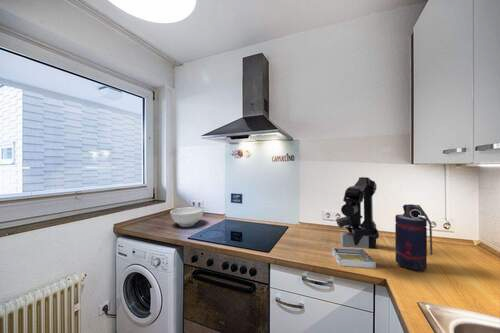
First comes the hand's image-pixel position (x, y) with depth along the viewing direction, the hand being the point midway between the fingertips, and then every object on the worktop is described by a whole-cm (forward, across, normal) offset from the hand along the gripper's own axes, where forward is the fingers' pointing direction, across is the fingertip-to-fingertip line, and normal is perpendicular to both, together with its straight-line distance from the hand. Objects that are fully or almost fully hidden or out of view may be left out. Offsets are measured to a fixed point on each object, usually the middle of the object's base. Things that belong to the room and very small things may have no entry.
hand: (354, 243), depth 99 cm
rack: (+10, -3, 0) cm, 10 cm away
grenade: (+10, 0, +27) cm, 29 cm away
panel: (+1, 0, 0) cm, 1 cm away
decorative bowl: (+10, -48, -114) cm, 124 cm away
